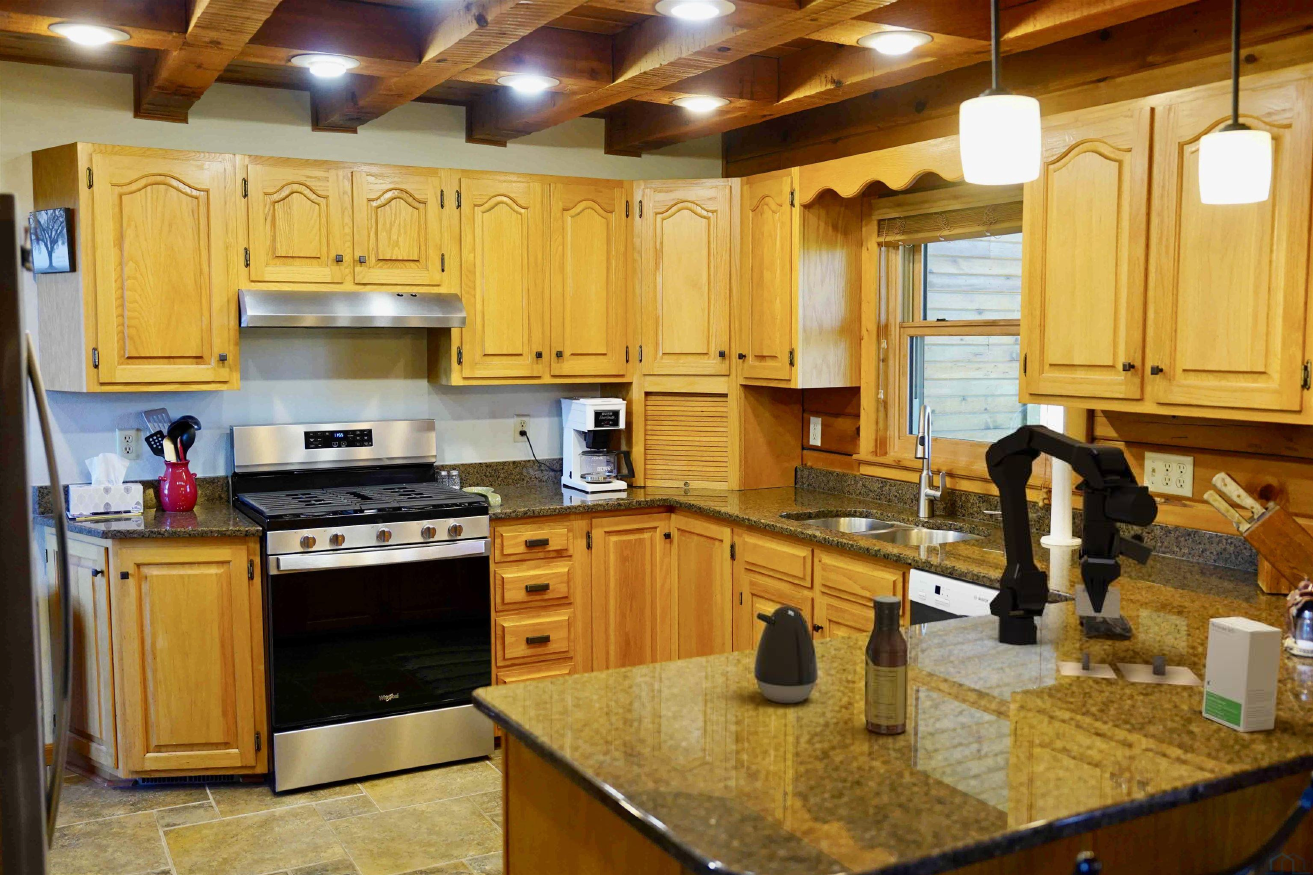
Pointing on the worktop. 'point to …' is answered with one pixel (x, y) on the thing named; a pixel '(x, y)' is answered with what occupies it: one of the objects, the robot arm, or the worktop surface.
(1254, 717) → the skincare box
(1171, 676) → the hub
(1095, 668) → the stand
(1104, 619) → the carved stone fragment
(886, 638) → the sauce bottle
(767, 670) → the pump dispenser
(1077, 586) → the collar
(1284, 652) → the worktop surface
